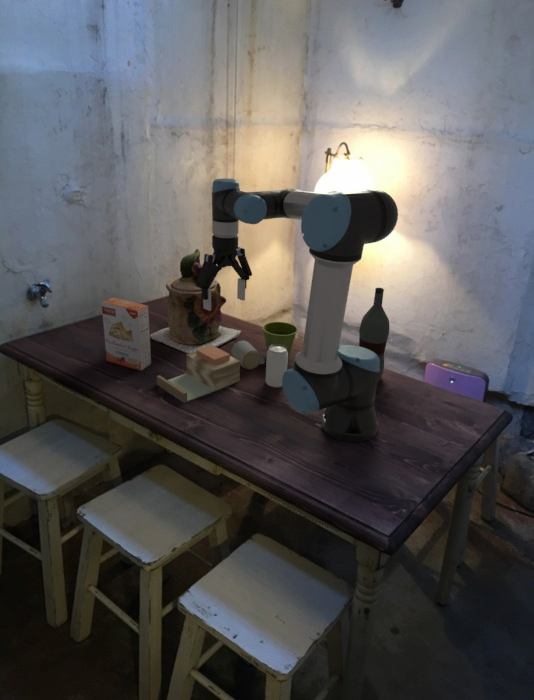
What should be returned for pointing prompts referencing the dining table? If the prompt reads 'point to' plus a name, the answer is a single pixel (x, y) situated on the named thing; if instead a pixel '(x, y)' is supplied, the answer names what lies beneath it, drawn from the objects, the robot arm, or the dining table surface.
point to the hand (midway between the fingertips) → (224, 304)
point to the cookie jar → (193, 312)
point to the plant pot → (280, 334)
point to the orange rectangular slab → (213, 355)
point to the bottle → (375, 329)
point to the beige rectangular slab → (213, 371)
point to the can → (276, 365)
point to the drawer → (184, 387)
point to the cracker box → (127, 333)
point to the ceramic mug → (247, 355)
